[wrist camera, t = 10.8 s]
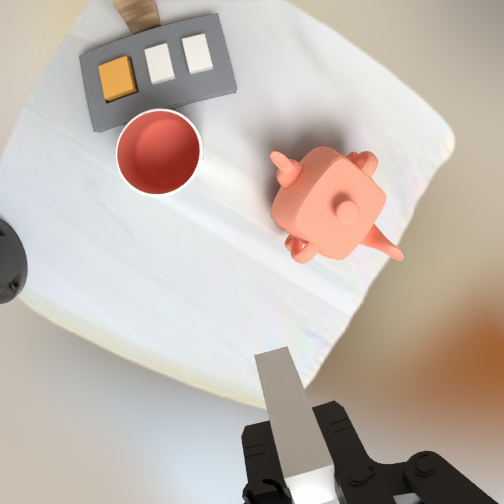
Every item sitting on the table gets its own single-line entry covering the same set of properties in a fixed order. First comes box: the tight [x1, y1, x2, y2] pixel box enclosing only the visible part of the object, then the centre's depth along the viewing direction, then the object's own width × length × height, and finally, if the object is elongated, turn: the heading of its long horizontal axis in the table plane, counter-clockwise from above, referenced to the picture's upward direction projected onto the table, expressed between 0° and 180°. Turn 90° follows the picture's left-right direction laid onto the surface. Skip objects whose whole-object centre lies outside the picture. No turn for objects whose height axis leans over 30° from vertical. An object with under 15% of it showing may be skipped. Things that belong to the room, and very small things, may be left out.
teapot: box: [270, 146, 403, 264], centre depth 41 cm, size 15×17×13 cm
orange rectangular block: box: [98, 56, 138, 102], centre depth 36 cm, size 4×5×3 cm
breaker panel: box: [79, 13, 237, 132], centre depth 37 cm, size 20×12×4 cm, turn 103°
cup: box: [115, 108, 204, 197], centre depth 38 cm, size 10×10×10 cm
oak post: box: [113, 0, 161, 35], centre depth 30 cm, size 4×4×12 cm
